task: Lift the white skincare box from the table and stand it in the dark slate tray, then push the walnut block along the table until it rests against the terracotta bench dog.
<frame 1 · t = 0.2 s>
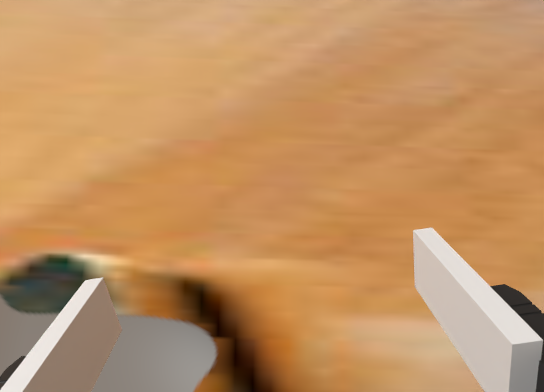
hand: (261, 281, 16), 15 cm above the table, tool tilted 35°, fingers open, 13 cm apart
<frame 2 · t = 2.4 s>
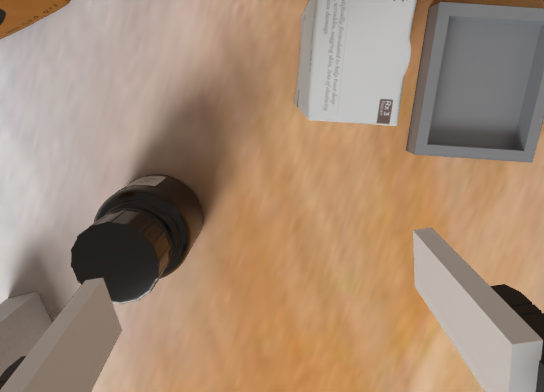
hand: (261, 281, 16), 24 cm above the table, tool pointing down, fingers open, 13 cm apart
tea bag: (35, 319, 45), on the table
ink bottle: (162, 213, 41), on the table
skincare box: (328, 65, 36), on the table
tray: (474, 86, 36), on the table
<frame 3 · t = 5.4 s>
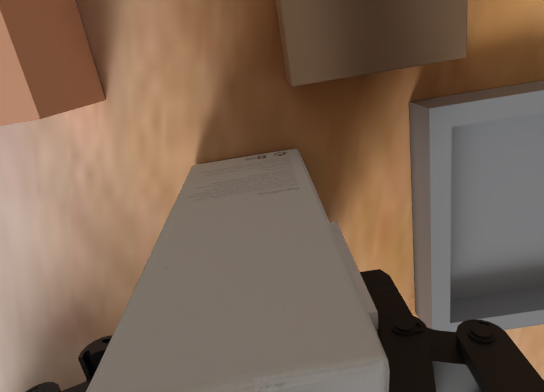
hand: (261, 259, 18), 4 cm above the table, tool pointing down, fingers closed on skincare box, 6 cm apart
bench dog: (55, 40, 18), on the table
skincare box: (261, 223, 22), on the table, touching gripper
tray: (510, 203, 22), on the table
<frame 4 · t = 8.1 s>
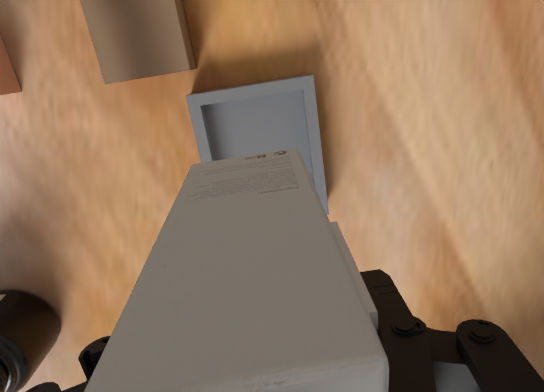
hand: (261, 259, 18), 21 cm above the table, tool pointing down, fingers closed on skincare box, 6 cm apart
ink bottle: (22, 320, 43), on the table
skincare box: (261, 223, 22), point 17 cm above the table, touching gripper
walnut block: (149, 33, 33), on the table
tray: (261, 152, 37), on the table
when the fingers open (6 cm above the table, at t = 11.1 s): skincare box drops 1 cm, resting on tray.
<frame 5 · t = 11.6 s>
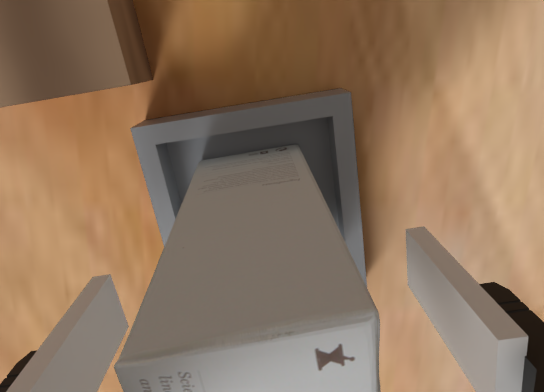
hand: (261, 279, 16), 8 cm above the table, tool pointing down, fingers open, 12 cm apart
skincare box: (263, 215, 23), resting on tray
walnut block: (70, 21, 20), on the table
tray: (261, 211, 23), on the table
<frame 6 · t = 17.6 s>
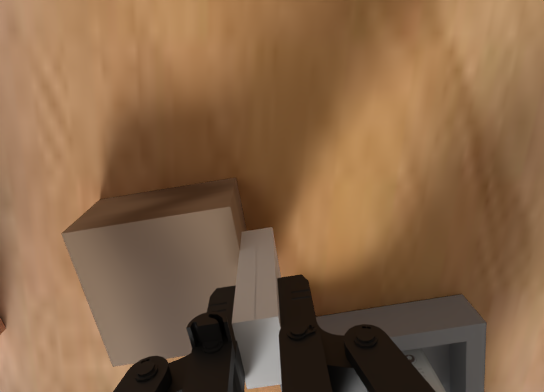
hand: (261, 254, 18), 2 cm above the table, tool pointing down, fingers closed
walnut block: (184, 249, 20), on the table, touching gripper
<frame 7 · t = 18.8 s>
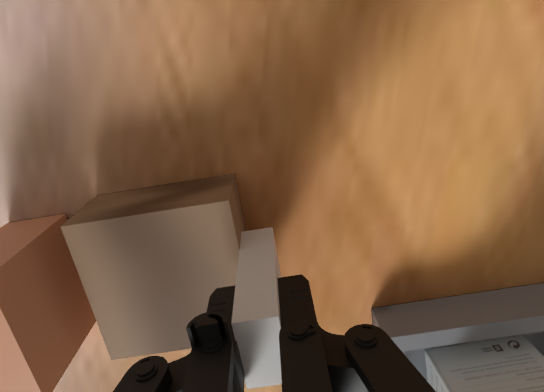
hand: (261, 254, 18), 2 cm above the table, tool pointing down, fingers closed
bench dog: (57, 268, 20), on the table
skincare box: (470, 387, 24), resting on tray
walnut block: (183, 244, 21), on the table
tray: (465, 380, 24), on the table
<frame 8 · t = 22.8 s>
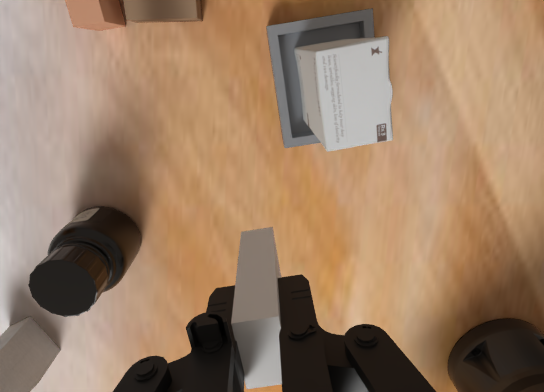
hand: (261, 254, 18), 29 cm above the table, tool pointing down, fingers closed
tea bag: (36, 337, 55), on the table
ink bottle: (108, 235, 50), on the table
skincare box: (324, 82, 44), resting on tray
tray: (322, 80, 44), on the table
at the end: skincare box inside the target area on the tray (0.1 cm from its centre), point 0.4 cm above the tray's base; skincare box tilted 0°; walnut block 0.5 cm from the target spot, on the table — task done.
